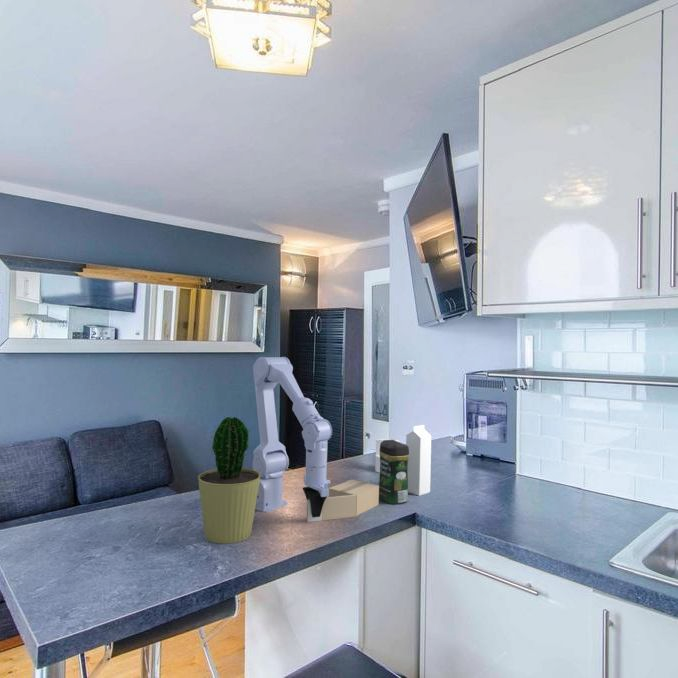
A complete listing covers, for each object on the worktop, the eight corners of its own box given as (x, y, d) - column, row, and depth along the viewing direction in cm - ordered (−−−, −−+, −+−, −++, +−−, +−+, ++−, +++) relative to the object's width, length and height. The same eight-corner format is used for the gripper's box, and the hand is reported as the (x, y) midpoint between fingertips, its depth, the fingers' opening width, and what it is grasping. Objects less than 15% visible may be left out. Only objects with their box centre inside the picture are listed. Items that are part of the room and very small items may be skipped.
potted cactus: (195, 550, 110) (199, 420, 110) (196, 525, 125) (199, 410, 125) (262, 544, 114) (266, 419, 115) (255, 520, 129) (258, 410, 129)
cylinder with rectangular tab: (372, 472, 180) (373, 441, 181) (377, 467, 189) (378, 436, 189) (396, 475, 178) (397, 443, 178) (400, 469, 186) (401, 438, 187)
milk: (430, 492, 158) (432, 426, 158) (418, 496, 154) (421, 427, 154) (415, 488, 162) (417, 423, 163) (404, 491, 158) (406, 425, 158)
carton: (356, 516, 134) (356, 494, 134) (328, 508, 140) (328, 487, 140) (378, 505, 144) (379, 485, 144) (351, 498, 150) (351, 479, 150)
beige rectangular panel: (355, 516, 133) (356, 495, 133) (307, 522, 128) (308, 500, 128) (354, 515, 134) (355, 494, 134) (306, 520, 129) (307, 499, 129)
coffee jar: (374, 497, 152) (375, 438, 152) (395, 494, 155) (397, 437, 155) (389, 507, 143) (391, 445, 143) (412, 503, 146) (413, 443, 146)
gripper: (340, 471, 124) (338, 523, 124) (320, 457, 137) (319, 505, 137) (314, 473, 121) (313, 526, 121) (297, 459, 135) (295, 507, 134)
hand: (314, 515), depth 129 cm, fingers closed
